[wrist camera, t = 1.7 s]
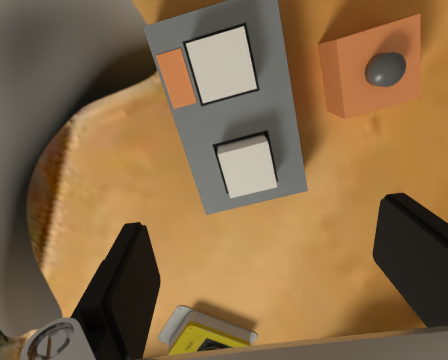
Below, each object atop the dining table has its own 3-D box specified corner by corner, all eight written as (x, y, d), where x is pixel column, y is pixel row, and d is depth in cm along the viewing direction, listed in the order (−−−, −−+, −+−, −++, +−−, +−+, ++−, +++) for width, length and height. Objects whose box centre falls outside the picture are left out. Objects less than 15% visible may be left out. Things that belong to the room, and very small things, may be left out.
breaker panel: (267, -4, 26) (275, -15, 23) (298, 177, 34) (308, 191, 30) (153, 32, 27) (142, 26, 24) (207, 199, 35) (206, 215, 31)
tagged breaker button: (241, 30, 25) (244, 26, 22) (253, 86, 26) (256, 88, 24) (189, 46, 25) (185, 43, 22) (204, 99, 27) (202, 103, 24)
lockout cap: (387, 22, 27) (433, 10, 21) (390, 92, 30) (432, 99, 24) (317, 44, 28) (343, 38, 22) (326, 111, 31) (352, 121, 25)
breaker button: (263, 134, 28) (267, 141, 26) (272, 176, 30) (277, 187, 27) (218, 146, 29) (217, 154, 26) (229, 186, 31) (230, 198, 28)
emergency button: (233, 389, 45) (150, 362, 42) (232, 363, 49) (156, 336, 46) (262, 357, 42) (174, 325, 39) (259, 331, 46) (179, 301, 43)
